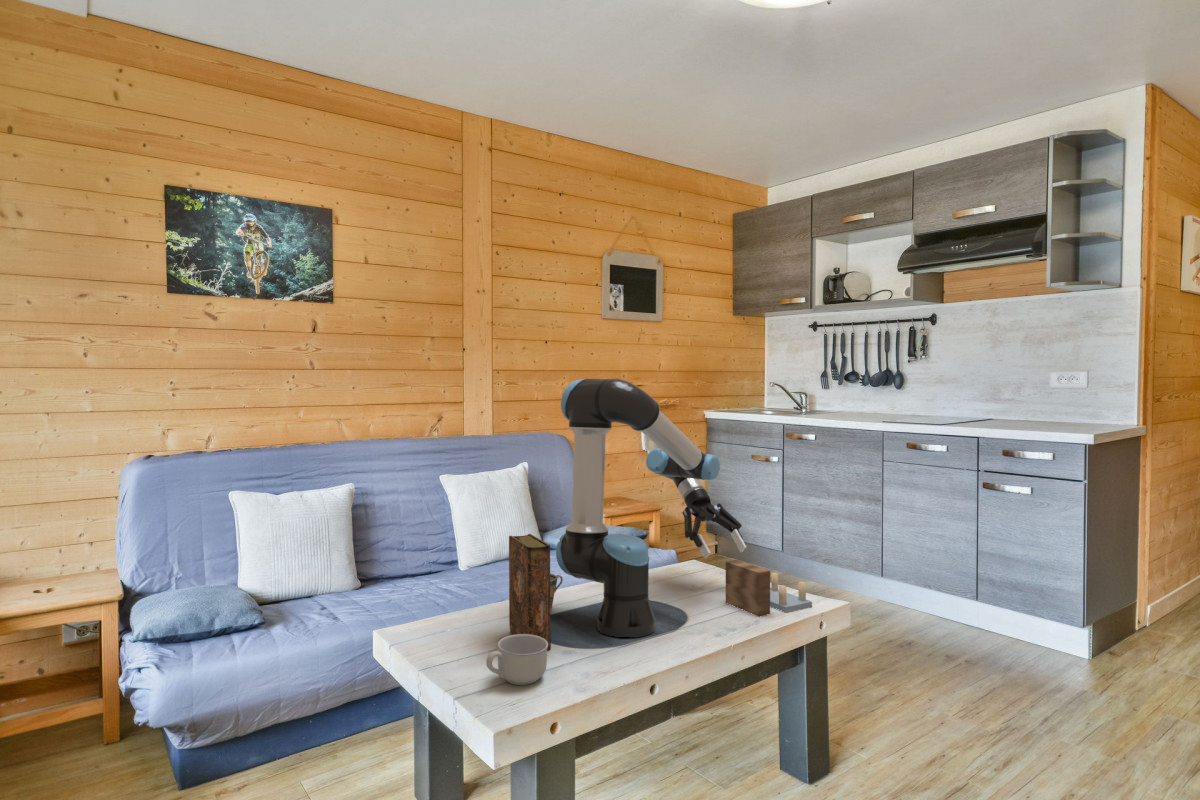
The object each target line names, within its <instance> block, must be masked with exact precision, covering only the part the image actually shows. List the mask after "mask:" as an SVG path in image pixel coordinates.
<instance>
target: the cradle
mask: <svg viewBox="0 0 1200 800" xmlns="http://www.w3.org/2000/svg"><path fill="white" fill-rule="evenodd" d="M770 606H772V607H771V608H773V607H774V608H773V609H775V608H777V609H776V610H778V609H779V610H778V611H780V610H782V611H781V612H783V611H784V612H783V613H786V612H787V613H790V612H789V611H791V612H795V611H794V610H796V611H799V610H798V609H800V610H803V609H802V608H805V609H809V608H812V607H813V600H808V599H807V583H806V581H798V596H797V595H795V594H792V593H789V592H787V586H786V585H785V584H784V585H783V584H782V585H781V584H780V585H779V573H778V572H770ZM808 607H809V608H808Z"/></svg>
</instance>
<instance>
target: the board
mask: <svg viewBox="0 0 1200 800" xmlns="http://www.w3.org/2000/svg"><path fill="white" fill-rule="evenodd" d="M770 588H771V571H770V570H769V569H765V568H762V567H759V566H756V565H753V564H750V563H747V562H744V561H740V560H737V559H734V560H729V561H728V560H727V561H725V604H727V603H728V604H727V605H729V604H731V605H730V606H732V605H733V606H732V607H734V606H735V607H734V608H737V607H738V608H737V609H739V608H740V609H739V610H741V609H743V610H742V611H744V610H745V611H744V612H746V611H747V612H746V613H749V614H751V613H752V614H751V615H754V616H756V617H758V616H759V618H761V617H764V616H763V615H765V616H768V615H767V614H770V615H771V607H770ZM760 616H761V617H760Z"/></svg>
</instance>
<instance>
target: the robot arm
mask: <svg viewBox="0 0 1200 800" xmlns="http://www.w3.org/2000/svg"><path fill="white" fill-rule="evenodd" d="M560 409H561V413H562V414H563V417H564V418H565V419H566V420H568V429H569V430H570V431H571V432H572V433H573V436H574V438H573V462H572V463H573V465H572V468H573V469H572V472H573V473H572V494H571V495H572V498H571V500H572V501H571V505H572V506H571V522H570V523H569V524H567V526H566V527H565V533H563V534H562V535H561V536H560V538H559V541H558V542H557V544H556V548H555V556H556V561H557V564H558V566H559V568H560V569H561V571H563V573H564V574H566V575H568V576H571V577H574V578H576V579H582V580H586V581H591V582H596V583H599V584H602V585H603V599H602V603H601V605H600V609H599V612H598V615H597V618H596V626H597V627H596V628H597V631H598V630H599V631H600V633H601V634H602V635H605V634H606V635H605V636H608V635H609V636H608V637H612V636H615V637H614V638H619V637H629V638H628V639H633V638H634V637H635V638H642V637H645V636H648V635H650V634H652V633H654V632H655V631H656V617H655V614H654V611H653V608H652V605H651V601H650V598H649V577H650V576H649V570H650V569H649V566H650V564H649V562H650V556H649V547H648V544H647V542H646V541H645V540H643V539H642V538H640V537H638V536H635V535H632V534H623V533H612V534H609V528H608V527H607V526H606V525H605V524H604V506H605V505H604V504H605V503H604V501H605V499H604V497H605V496H604V495H605V470H606V469H605V466H606V463H605V461H606V437H607V434H608V433H609V432H610V431H611V430H612V423H617V424H623V425H626V426H628V427H630V428H631V429H632V430H634V431H636V432H641V433H642V434H644V435H645V436H646V437H647V438H648V439H649V440H650V441H652V443H653V444H655V445H656V446H657V447H656V448H653V449H651V450H650V451H649V452H648V454H647V455H646V459H645V464H646V468H647V469H648V470H649V471H650V472H652V473H654V474H655V475H659V476H662V477H665V478H667V479H670V480H672V481H673V483H674V485H675V487H676V488H677V490H678V492H679V494H680V496H681V498H682V500H683V501H684V503H685V506H686V507H684V509H683V511H682V515H683V516H682V517H683V519H684V520H683V521H684V537H685V538H686V539H688V538H689V540H690V541H692V542H693V543H694V544H695V547H696V548H699V551H700V553H701V554H702V556H703V558H704V559H708V557H709V556H710V555H711V550H710V548H709V547H708V545H707V543H706V540H705V539H704V538H703V535H702V534H701V533H699V530H700V527H701V523H702V522H703V523H704V522H710V521H711V522H713V523H716V524H717V525H719V526H721V527H722V528H723V529H726V530H727V531H728V532H730V536H731V538H732V540H733V541H734V544H735V546H736V547H737V550H739V552H740V553H743V552H744V551H745V550H746V549H747V545H746V544H745V541H744V540H743V539H744V538H743V536H742V534H741V532H740V531H739V530H740V528H741V527H742V523H740V522H739V521H738V520H737V519H736V517H734V516H732V514H730V513H729V512H728V511H727V510H726V509H725V508H724V507H723V505H722V504H721V503H719V502H718V503H717V504H716V505H713V504H712V502H711V497H710V495H709V494H708V492H707V490H706V489H705V486H704V485H703V483H702V481H705V480H708V481H709V480H711V481H712V480H715V479H716V478H718V477H717V476H718V475H719V472H720V467H721V462H720V459H719V458H718V457H717V455H715V454H710V453H704V452H703V451H702V450H701V449H700V448H699V447H698V446H697V445H696V444H695V443H693V441H691V439H689V437H687V436H686V435H685V434H684V433H683V432H682V431H681V430H680V429H679V427H677V425H675V424H674V423H673V422H672V421H671V420H670V419H669V418H668V417H667V416H666V415H665V414H664V413H663V412H662V411H661V407H660V405H659V404H658V402H657V401H656V400H655V399H654V398H653V397H651V395H650V394H648V393H647V392H645V391H644V390H643V389H641V388H640V387H639V386H636V385H635V384H633V383H631V382H629V381H627V380H625V379H620V378H583V379H577V380H574V381H572V382H570V383H568V386H567V387H565V388H564V390H563V393H562V396H561V399H560ZM701 480H702V481H701ZM692 516H694V517H695V518H694V520H693V519H692ZM692 520H693V522H692ZM692 523H693V524H692ZM654 630H655V631H654ZM599 631H598V632H599ZM630 637H631V638H630ZM632 637H633V638H632ZM635 638H634V639H635Z"/></svg>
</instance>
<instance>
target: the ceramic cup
mask: <svg viewBox="0 0 1200 800" xmlns="http://www.w3.org/2000/svg"><path fill="white" fill-rule="evenodd" d="M559 578H560V582H559V583H558V584H557V582H558V579H559ZM563 581H564V579H563V577H562V575H559V574H555V573H551V572H550V615H551V613H552V611H553V604H554V598H555V597H554V596H555V593H556V592H557V590H558V589H559V588H560V586H561V585H562V583H563Z"/></svg>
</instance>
